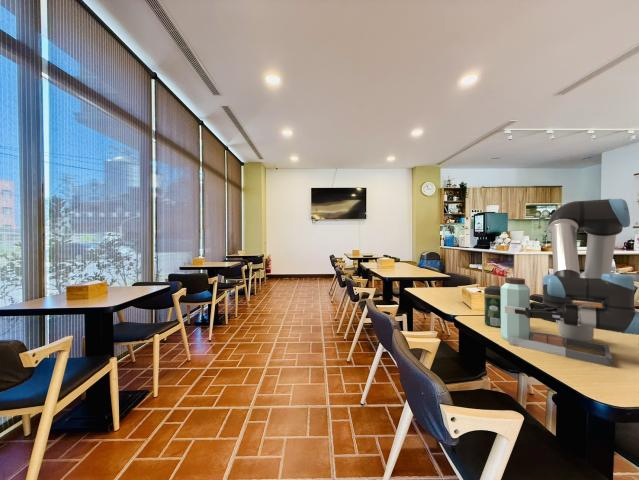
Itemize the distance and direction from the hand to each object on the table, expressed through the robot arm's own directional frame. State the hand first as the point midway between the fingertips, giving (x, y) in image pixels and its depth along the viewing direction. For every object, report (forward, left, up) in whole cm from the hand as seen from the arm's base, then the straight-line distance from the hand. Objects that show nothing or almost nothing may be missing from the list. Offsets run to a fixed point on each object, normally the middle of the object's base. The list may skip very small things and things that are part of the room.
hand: (507, 306), depth 114 cm
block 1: (-9, +5, -14) cm, 17 cm away
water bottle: (-2, +1, -14) cm, 14 cm away
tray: (-20, +11, -13) cm, 27 cm away
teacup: (-26, -6, -14) cm, 30 cm away
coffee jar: (-2, -20, -14) cm, 24 cm away
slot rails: (-8, +5, -13) cm, 16 cm away
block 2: (-13, +7, -13) cm, 20 cm away
